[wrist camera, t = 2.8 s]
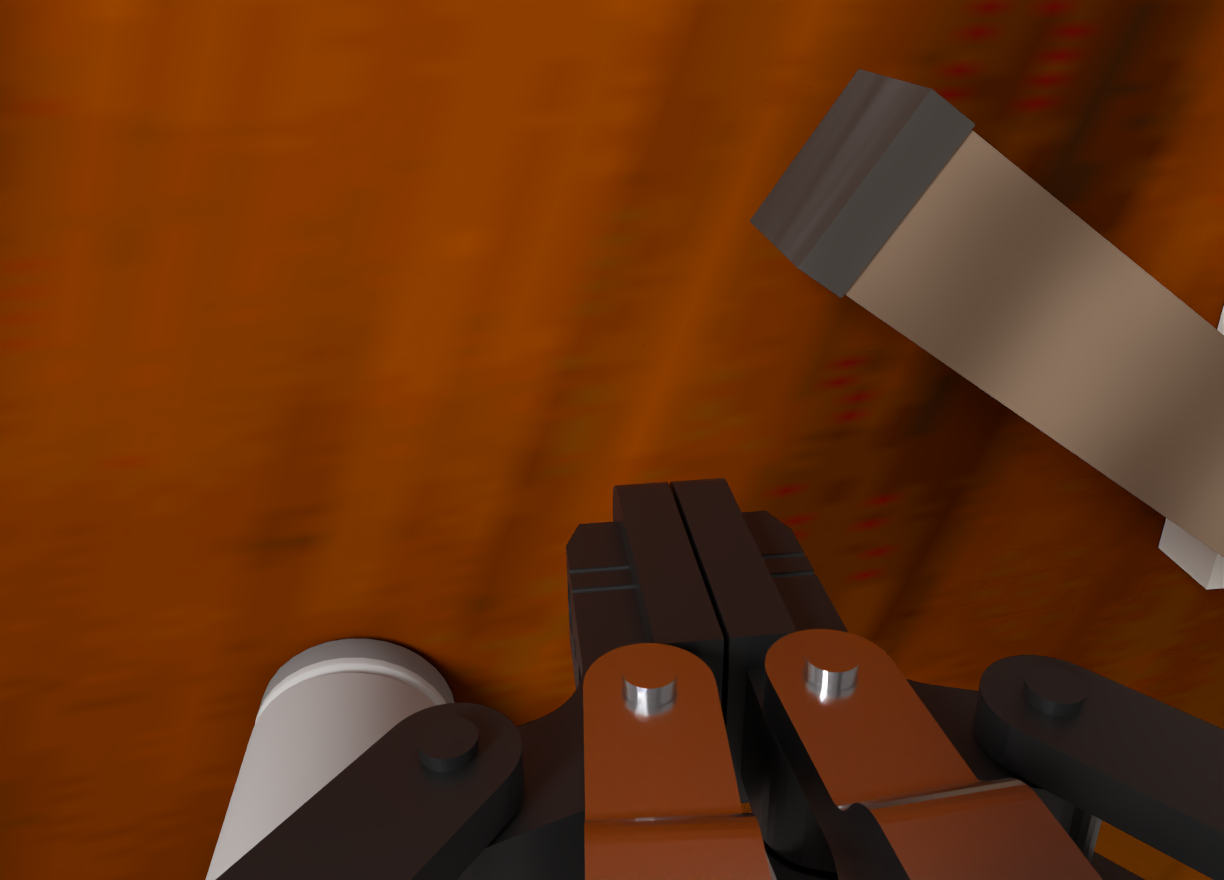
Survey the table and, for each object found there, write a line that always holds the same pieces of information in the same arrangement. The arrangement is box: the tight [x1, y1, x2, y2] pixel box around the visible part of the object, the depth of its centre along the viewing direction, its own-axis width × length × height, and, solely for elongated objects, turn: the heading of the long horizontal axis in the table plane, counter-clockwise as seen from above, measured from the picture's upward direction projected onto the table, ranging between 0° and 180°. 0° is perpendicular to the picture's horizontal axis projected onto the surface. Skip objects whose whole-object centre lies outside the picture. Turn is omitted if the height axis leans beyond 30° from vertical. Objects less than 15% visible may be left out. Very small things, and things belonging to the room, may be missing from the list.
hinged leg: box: [750, 69, 1224, 557], centre depth 25 cm, size 23×4×5 cm, turn 56°
